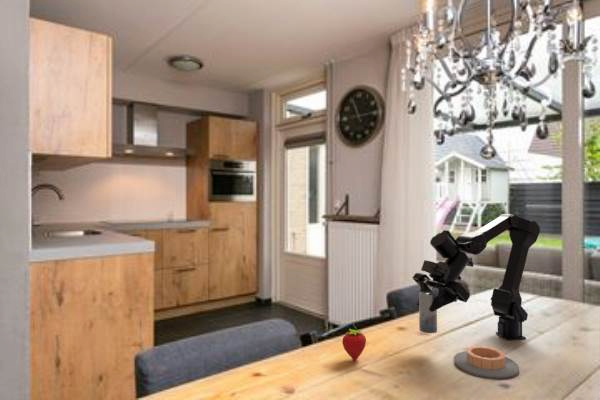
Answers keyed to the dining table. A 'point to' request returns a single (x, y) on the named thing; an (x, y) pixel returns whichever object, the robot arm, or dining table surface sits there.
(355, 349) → the strawberry
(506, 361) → the slate seat plate
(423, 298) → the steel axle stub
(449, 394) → the dining table surface
